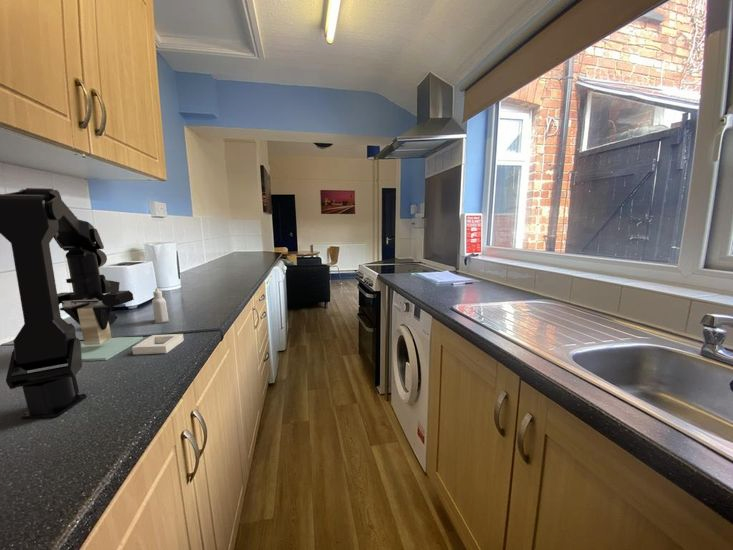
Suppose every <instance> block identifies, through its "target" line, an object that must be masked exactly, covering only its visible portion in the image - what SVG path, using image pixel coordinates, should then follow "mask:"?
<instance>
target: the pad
mask: <svg viewBox="0 0 733 550" xmlns="http://www.w3.org/2000/svg"><path fill="white" fill-rule="evenodd" d="M111 338H112V339H110V340H108V341H106V342H104V343H102V344H96V345H84V342H83V343H80V344H81V356H82V362H91V361H93V362H94V361H95V362H96V361H107V360H109V359H110V358H112V357H115V356H116V355H117V354H119V353H120V352H123V351H124V350H126V349H127V348H129V347H131V346H133V345H136V343H139V342H141V341H142V340H143V339H144V336H125V337H124V336H123V337H122V336H121V337H111Z"/></svg>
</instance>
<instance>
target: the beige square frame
mask: <svg viewBox="0 0 733 550" xmlns="http://www.w3.org/2000/svg"><path fill="white" fill-rule="evenodd" d="M184 341H185V340H184V333H175V334H174V333H173V334H172V333H171V334H152V335H150V336H149V337H147V338H146V339H144V340H141V341H139V342H138V343H137V344H134V346H132V347H131V349H132V355H133V356H134V355H153V354H156V355H157V354H167V353H169V352H170V351H172V350H174V348H175V347H177V346H178V345H179V344H181V343H183V342H184Z"/></svg>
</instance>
